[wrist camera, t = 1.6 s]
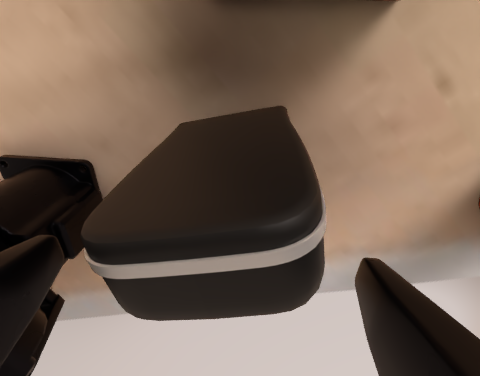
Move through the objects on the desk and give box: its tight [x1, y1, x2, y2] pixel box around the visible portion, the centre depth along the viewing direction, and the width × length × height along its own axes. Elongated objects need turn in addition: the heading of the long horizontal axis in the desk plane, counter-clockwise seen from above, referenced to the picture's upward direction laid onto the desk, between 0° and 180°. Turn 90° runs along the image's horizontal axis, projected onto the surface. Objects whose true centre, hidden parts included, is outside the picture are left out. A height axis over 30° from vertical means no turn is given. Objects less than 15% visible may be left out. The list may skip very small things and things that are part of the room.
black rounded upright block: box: [80, 106, 326, 321], centre depth 11 cm, size 7×4×11 cm, turn 101°
